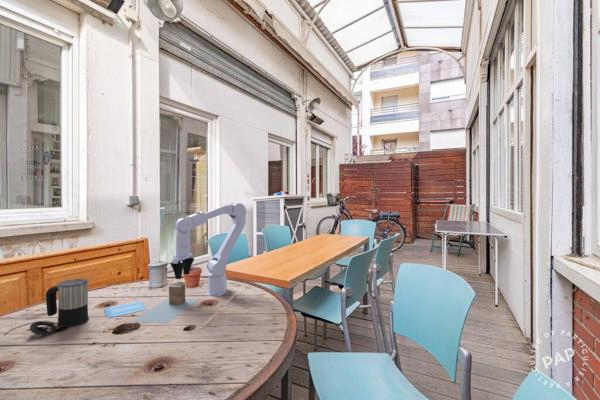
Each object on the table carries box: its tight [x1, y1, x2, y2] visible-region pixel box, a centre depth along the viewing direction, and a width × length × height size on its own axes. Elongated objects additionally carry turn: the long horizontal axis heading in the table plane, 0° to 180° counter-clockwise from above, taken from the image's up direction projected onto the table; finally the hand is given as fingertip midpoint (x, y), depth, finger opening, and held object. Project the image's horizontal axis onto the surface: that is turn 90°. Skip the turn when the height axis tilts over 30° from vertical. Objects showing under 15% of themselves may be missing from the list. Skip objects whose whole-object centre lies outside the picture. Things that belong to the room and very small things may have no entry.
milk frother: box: [29, 278, 90, 337], centre depth 104 cm, size 14×16×15 cm
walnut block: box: [168, 279, 186, 305], centre depth 126 cm, size 4×5×9 cm
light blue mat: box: [131, 297, 199, 324], centre depth 119 cm, size 24×14×1 cm, turn 173°
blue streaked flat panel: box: [103, 300, 149, 319], centre depth 119 cm, size 14×12×1 cm
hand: (182, 276), depth 131 cm, fingers open, 7 cm apart
